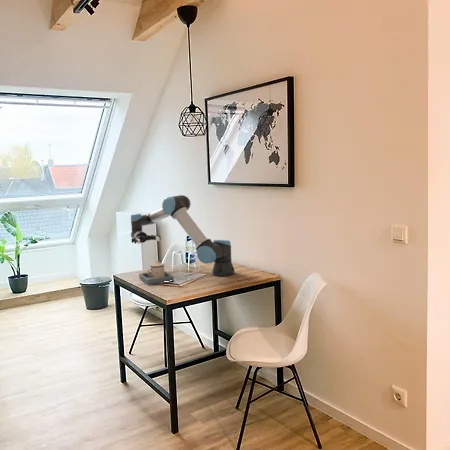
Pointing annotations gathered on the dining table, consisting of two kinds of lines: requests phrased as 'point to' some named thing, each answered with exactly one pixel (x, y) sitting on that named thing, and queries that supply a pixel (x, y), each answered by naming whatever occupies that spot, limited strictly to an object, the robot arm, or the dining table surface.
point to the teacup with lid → (157, 270)
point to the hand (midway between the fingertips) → (149, 240)
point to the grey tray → (150, 281)
